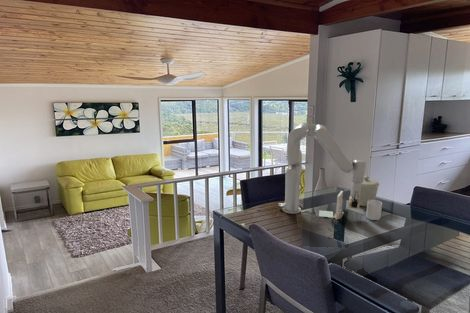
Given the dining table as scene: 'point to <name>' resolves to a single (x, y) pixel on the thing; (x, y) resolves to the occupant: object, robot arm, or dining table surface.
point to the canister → (368, 190)
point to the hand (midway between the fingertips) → (353, 204)
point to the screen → (339, 206)
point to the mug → (373, 209)
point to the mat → (325, 214)
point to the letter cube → (351, 202)
